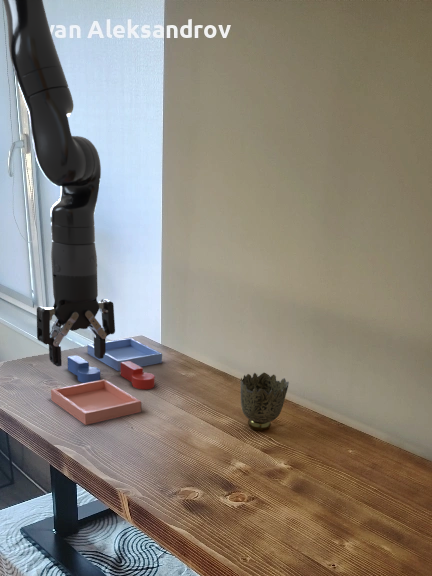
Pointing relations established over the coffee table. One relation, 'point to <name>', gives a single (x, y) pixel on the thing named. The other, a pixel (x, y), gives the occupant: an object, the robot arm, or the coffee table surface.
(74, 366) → the blue rounded block
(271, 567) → the coffee table surface
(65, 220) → the robot arm
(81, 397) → the red tray
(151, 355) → the blue tray
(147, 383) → the red stepped block
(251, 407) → the cup
